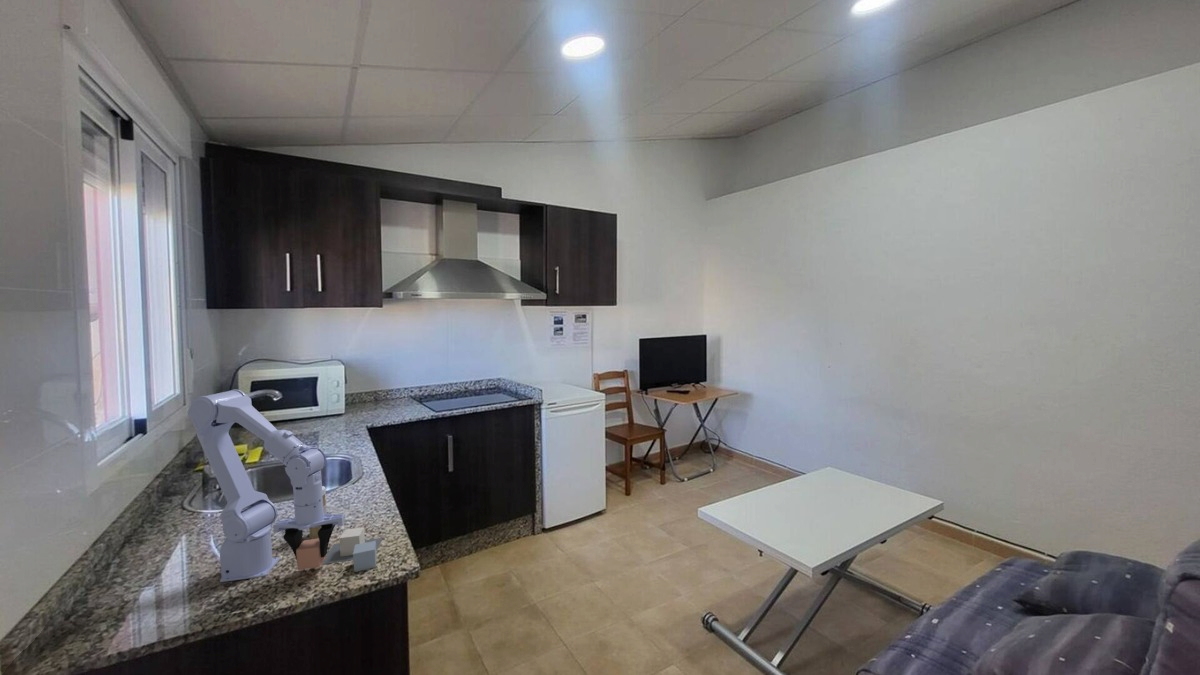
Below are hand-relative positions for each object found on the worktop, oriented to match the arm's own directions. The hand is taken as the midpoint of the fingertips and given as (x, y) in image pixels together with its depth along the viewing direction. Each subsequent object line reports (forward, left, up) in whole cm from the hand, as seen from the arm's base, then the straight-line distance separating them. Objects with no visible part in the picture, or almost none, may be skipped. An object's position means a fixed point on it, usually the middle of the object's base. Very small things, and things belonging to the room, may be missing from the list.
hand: (311, 556), depth 110 cm
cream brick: (+7, +8, -4) cm, 11 cm away
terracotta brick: (0, 0, -2) cm, 2 cm away
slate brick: (+12, 0, -4) cm, 12 cm away
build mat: (+7, +8, -4) cm, 11 cm away
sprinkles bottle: (-5, +20, -4) cm, 21 cm away
